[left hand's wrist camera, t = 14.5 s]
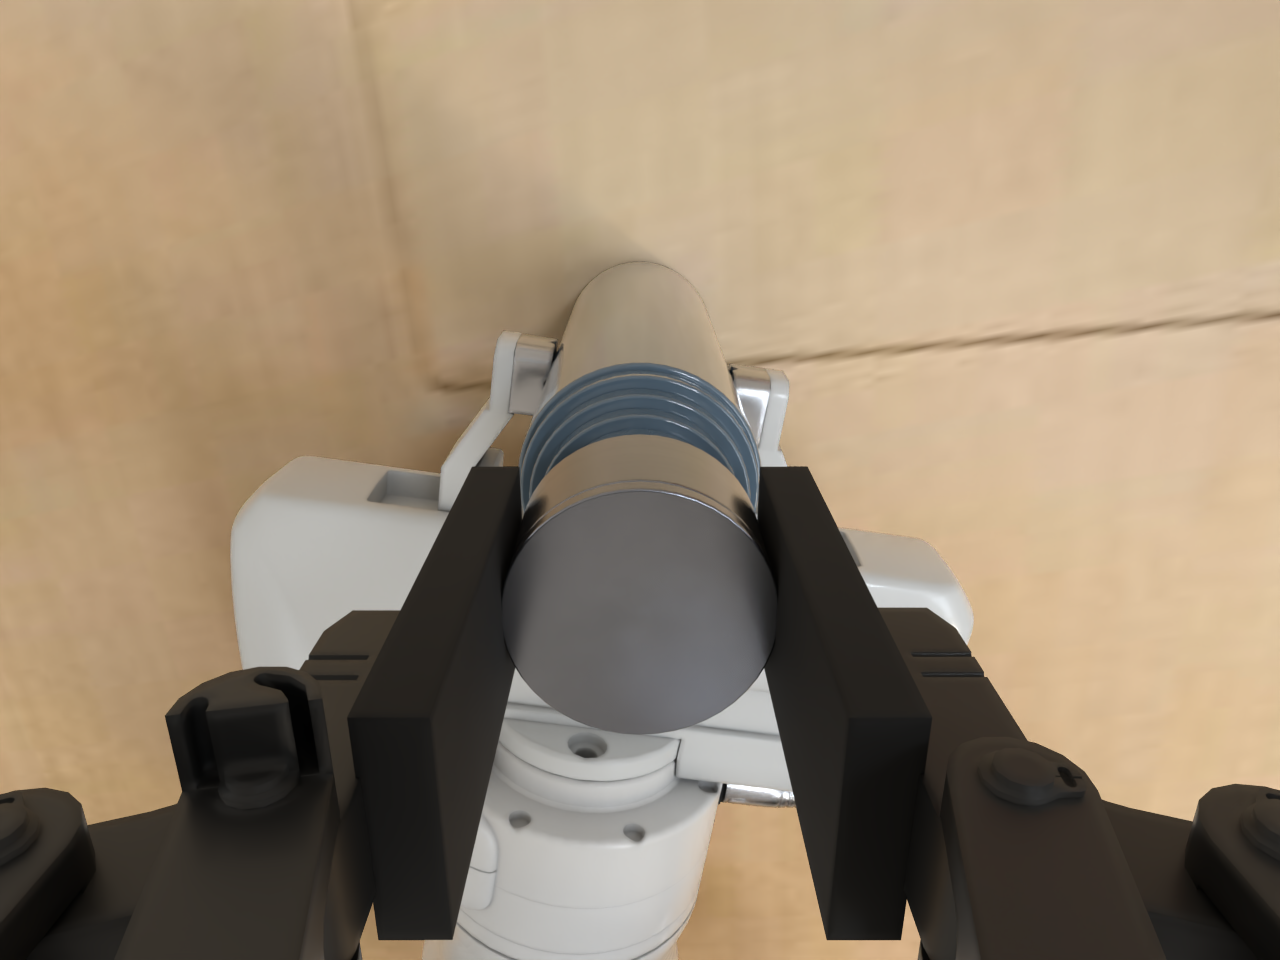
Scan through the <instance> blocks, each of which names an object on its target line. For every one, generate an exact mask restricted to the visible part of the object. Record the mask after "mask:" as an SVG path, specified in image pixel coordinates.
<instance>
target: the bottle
mask: <svg viewBox="0 0 1280 960" xmlns="http://www.w3.org/2000/svg"><path fill="white" fill-rule="evenodd" d="M638 434H642V435H657V436H662V437H667V438H673V439H676V440H679V441H682V442H685V443H688V444H690V445H692V446H694V447H696V448H699V449H701V450H703V451H704V452H706V453H707V454H709V455H711V456H712V457H714V458H715V459H717V460H718V461H719V462H720V463H721V464H722V465H724V466H725V467H726V468H727V469H728V470H729V471H730V472H731V473H732V474H733V475H734V476H735V478H736V479H737V480H738V481H739V483H740V484H741V486H742V487H743V489H744V490H745V492H746V493H747V495H748V497H749V499H750V501H751V503H752V505H753V508H754V511H755V514H756V509H757V506H758V494H759V475H760V467H761V460H760V455H759V451H758V446H757V443H756V441H755V438H754V435H753V433H752V430H751V427H750V425H749V422H748V419H747V417H746V414H745V411H744V409H743V406H742V403H741V401H740V398H739V395H738V393H737V390H736V387H735V385H734V382H733V379H732V377H731V374H730V371H729V369H728V366H727V363H726V361H725V358H724V355H723V353H722V350H721V347H720V345H719V342H718V339H717V337H716V334H715V331H714V329H713V326H712V324H711V321H710V318H709V316H708V313H707V310H706V308H705V305H704V302H703V301H702V299H701V297H700V295H699V294H698V292H697V291H696V289H695V288H694V287H693V286H692V285H691V284H690V283H689V282H688V280H686V279H685V278H684V277H683V276H681V275H680V274H678V273H677V272H675V271H673V270H672V269H669V268H667V267H665V266H662V265H659V264H655V263H649V262H630V263H624V264H620V265H617V266H614V267H612V268H609V269H607V270H606V271H604V272H602V273H600V274H599V275H598V276H596V277H595V278H594V279H593V280H592V281H591V282H590V283H589V284H588V285H587V286H586V287H585V288H584V289H583V291H582V292H581V293H580V295H579V297H578V299H577V301H576V302H575V305H574V308H573V310H572V313H571V315H570V318H569V321H568V323H567V326H566V329H565V332H564V334H563V337H562V340H561V342H560V345H559V348H558V350H557V353H556V356H555V358H554V361H553V364H552V366H551V369H550V372H549V374H548V377H547V380H546V383H545V385H544V388H543V391H542V393H541V396H540V399H539V401H538V404H537V407H536V409H535V412H534V415H533V417H532V420H531V423H530V426H529V428H528V431H527V434H526V436H525V439H524V442H523V444H522V449H521V453H520V457H519V465H518V467H520V487H521V504H522V507H523V512H524V513H525V509H526V506H527V504H528V502H529V500H530V498H531V496H532V494H533V492H534V491H535V489H536V488H537V486H538V485H539V483H540V482H541V480H542V479H543V478H544V477H545V476H546V475H547V474H548V473H549V471H550V470H551V469H552V468H553V467H555V466H556V465H557V464H558V463H559V462H561V461H562V460H563V459H564V458H566V457H567V456H569V455H571V454H572V453H574V452H575V451H577V450H579V449H581V448H583V447H585V446H587V445H589V444H592V443H595V442H598V441H601V440H604V439H607V438H612V437H617V436H623V435H638Z"/></svg>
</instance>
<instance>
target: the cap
mask: <svg viewBox="0 0 1280 960" xmlns="http://www.w3.org/2000/svg"><path fill="white" fill-rule="evenodd" d="M501 605H502V622H503V636H504V643H505V646H506V650H507V652H508V654H509V656H510V658H511V661H512V663H513V665H514V666H515V668H516V669H517V671H518V673H519V674H520V676H521V677H522V679H523V680H524V681H525V682H526V684H527V685H528V686H529V687H530V688H531V690H532V691H533V692H534V693H535V694H537V695H538V696H539V697H540V698H541V699H542V700H543V701H544V702H545V703H547V704H548V705H550V706H551V707H552V708H554V709H555V710H557V711H558V712H560V713H561V714H563V715H565V716H567V717H569V718H571V719H572V720H575V721H577V722H579V723H582V724H584V725H587V726H590V727H593V728H597V729H600V730H604V731H609V732H615V733H621V734H635V735H644V734H659V733H665V732H671V731H676V730H679V729H683V728H687V727H690V726H693V725H695V724H698V723H700V722H703V721H705V720H707V719H709V718H711V717H713V716H715V715H716V714H718V713H720V712H722V711H723V710H724V709H726V708H727V707H729V706H730V705H732V704H733V703H734V702H736V701H737V700H738V699H739V698H740V697H741V696H742V695H743V694H744V693H745V692H746V691H747V690H748V689H749V688H750V687H751V686H752V684H753V683H754V682H755V681H756V680H757V678H758V677H759V675H760V674H761V672H762V671H763V669H764V668H765V666H766V664H767V662H768V660H769V658H770V656H771V653H772V651H773V649H774V646H775V640H776V626H777V610H778V586H777V583H776V580H775V576H774V573H773V570H772V566H771V563H770V560H769V557H768V553H767V550H766V547H765V544H764V540H763V537H762V534H761V531H760V527H759V524H758V521H757V518H756V514H755V511H754V508H753V505H752V503H751V501H750V499H749V497H748V495H747V493H746V492H745V490H744V489H743V487H742V486H741V484H740V483H739V481H738V480H737V479H736V478H735V476H734V475H733V474H732V473H731V472H730V471H729V470H728V469H727V468H726V467H725V466H724V465H722V464H721V463H720V462H719V461H718V460H717V459H715V458H714V457H712V456H711V455H709V454H707V453H706V452H704V451H703V450H701V449H699V448H696V447H694V446H692V445H690V444H688V443H685V442H682V441H679V440H676V439H673V438H667V437H662V436H657V435H642V434H638V435H623V436H617V437H612V438H607V439H604V440H601V441H598V442H595V443H592V444H589V445H587V446H585V447H583V448H581V449H579V450H577V451H575V452H574V453H572V454H571V455H569V456H567V457H566V458H564V459H563V460H562V461H561V462H559V463H558V464H557V465H556V466H555V467H553V468H552V469H551V470H550V471H549V473H548V474H547V475H546V476H545V477H544V478H543V479H542V480H541V482H540V483H539V485H538V486H537V488H536V489H535V491H534V492H533V494H532V496H531V498H530V500H529V502H528V504H527V506H526V509H525V513H524V516H523V519H522V522H521V525H520V529H519V532H518V535H517V539H516V542H515V545H514V549H513V552H512V556H511V559H510V562H509V566H508V569H507V572H506V576H505V579H504V582H503V586H502V592H501Z"/></svg>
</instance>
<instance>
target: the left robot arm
mask: <svg viewBox="0 0 1280 960" xmlns="http://www.w3.org/2000/svg"><path fill="white" fill-rule="evenodd" d="M757 521H758V524H759V527H760V531H761V534H762V537H763V540H764V544H765V547H766V550H767V553H768V557H769V560H770V563H771V566H772V570H773V573H774V576H775V580H776V583H777V586H778V610H777V626H776V640H775V646H774V649H773V651H772V653H771V656H770V658H769V660H768V662H767V664H766V666H765V668H764V670H765V674H766V678H767V683H768V687H769V691H770V696H771V700H772V704H773V709H774V713H775V717H776V722H777V726H778V730H779V735H780V739H781V743H782V748H783V752H784V756H785V761H786V765H787V769H788V774H789V778H790V782H791V787H792V791H793V795H794V800H795V804H796V808H797V813H798V817H799V821H800V826H801V830H802V834H803V839H804V843H805V847H806V852H807V856H808V860H809V865H810V869H811V873H812V878H813V882H814V886H815V891H816V895H817V899H818V904H819V908H820V912H821V917H822V921H823V925H824V930H825V934H826V938H827V940H901V935H902V928H903V921H904V914H905V907H906V900H907V901H908V903H909V906H910V909H911V912H912V915H913V918H914V921H915V924H916V926H917V929H918V932H919V935H920V938H921V941H920V948H919V954H918V960H1280V790H1276V789H1272V788H1268V787H1263V786H1253V785H1242V784H1232V785H1227V786H1222V787H1217V788H1212V789H1211V790H1210V791H1209V792H1208V793H1206V794H1205V795H1204V796H1203V797H1202V798H1201V799H1200V800H1199V802H1198V806H1197V809H1196V813H1195V816H1194V820H1193V822H1192V821H1188V820H1183V819H1178V818H1174V817H1169V816H1164V815H1160V814H1155V813H1151V812H1146V811H1141V810H1137V809H1132V808H1128V807H1125V806H1121V805H1118V804H1114V803H1111V802H1107V801H1104V800H1102V799H1101V797H1100V795H1099V792H1098V790H1097V789H1096V787H1095V786H1094V784H1093V783H1092V782H1091V780H1090V779H1089V777H1088V776H1087V774H1086V773H1085V772H1084V771H1083V770H1082V769H1080V768H1079V767H1078V766H1076V765H1075V764H1074V763H1073V762H1071V761H1070V760H1069V759H1067V758H1066V757H1065V756H1063V755H1061V754H1059V753H1057V752H1055V751H1052V750H1050V749H1048V748H1046V747H1044V746H1041V745H1039V744H1037V743H1033V742H1029V741H1027V739H1026V738H1025V736H1024V734H1023V733H1022V731H1021V730H1020V728H1019V726H1018V725H1017V723H1016V722H1015V720H1014V719H1013V717H1012V715H1011V714H1010V712H1009V711H1008V709H1007V708H1006V706H1005V704H1004V703H1003V701H1002V700H1001V698H1000V697H999V695H998V693H997V692H996V690H995V689H994V687H993V686H992V684H991V682H990V681H989V679H988V678H987V677H984V671H983V670H982V668H981V667H980V665H979V664H978V662H977V660H976V659H975V657H971V651H970V649H969V648H968V646H967V645H966V643H965V642H964V640H963V638H962V637H961V635H960V634H959V632H958V631H957V629H956V628H955V627H954V626H952V625H951V624H949V623H948V622H947V621H945V620H944V619H942V618H941V617H940V616H938V615H937V614H935V613H934V612H933V611H931V610H930V609H928V608H878V607H877V605H876V603H875V601H874V599H873V597H872V595H871V593H870V591H869V589H868V587H867V585H866V583H865V581H864V579H863V577H862V575H861V573H860V571H859V569H858V567H857V565H856V563H855V561H854V559H853V557H852V555H851V553H850V551H849V549H848V547H847V545H846V543H845V541H844V539H843V537H842V535H841V533H840V531H839V529H838V527H837V525H836V523H835V521H834V519H833V517H832V515H831V513H830V511H829V509H828V507H827V505H826V503H825V501H824V499H823V497H822V495H821V493H820V491H819V489H818V487H817V485H816V483H815V481H814V479H813V477H812V475H811V473H810V471H809V469H808V467H760V475H759V494H758V513H757ZM521 522H522V506H521V487H520V467H472V468H471V470H470V472H469V474H468V476H467V478H466V480H465V482H464V484H463V486H462V488H461V490H460V492H459V494H458V496H457V498H456V500H455V502H454V504H453V506H452V508H451V510H450V512H449V514H448V516H447V518H446V520H445V522H444V524H443V526H442V528H441V530H440V532H439V534H438V536H437V538H436V540H435V542H434V544H433V546H432V548H431V550H430V552H429V554H428V556H427V558H426V560H425V562H424V564H423V566H422V568H421V570H420V572H419V574H418V576H417V578H416V580H415V582H414V584H413V586H412V588H411V590H410V592H409V594H408V596H407V598H406V600H405V602H404V604H403V606H402V608H401V610H353V611H351V612H350V613H348V614H347V615H346V616H344V617H343V618H341V619H340V620H339V621H337V622H336V623H334V624H333V625H332V626H330V627H329V628H327V629H326V630H325V631H324V632H323V633H322V635H321V636H320V638H319V639H318V641H317V643H316V644H315V646H314V647H313V649H312V651H311V652H310V654H309V659H308V660H305V662H304V663H303V665H302V666H301V668H300V670H297V669H293V668H289V667H255V668H250V669H245V670H239V671H234V672H230V673H227V674H225V675H222V676H220V677H217V678H214V679H212V680H209V681H207V682H204V683H202V684H200V685H199V686H197V687H196V688H194V689H193V690H191V691H190V692H188V693H187V694H185V695H184V696H182V697H181V698H179V699H178V700H177V702H176V703H175V704H174V705H173V707H172V708H171V709H170V710H169V711H168V713H167V714H166V715H165V718H166V723H167V727H168V731H169V736H170V740H171V744H172V749H173V753H174V757H175V762H176V766H177V770H178V775H179V779H180V783H181V788H182V794H181V796H180V799H179V801H178V803H177V804H175V805H172V806H168V807H165V808H161V809H158V810H154V811H151V812H147V813H142V814H137V815H133V816H128V817H124V818H119V819H114V820H110V821H105V822H101V823H96V824H91V825H87V822H86V819H85V815H84V812H83V808H82V805H81V803H80V802H78V801H77V800H76V799H75V798H74V797H73V796H72V795H71V794H70V793H68V792H64V791H59V790H54V789H49V788H38V789H27V790H17V791H12V792H9V793H5V794H0V960H362V954H361V948H360V938H361V935H362V932H363V929H364V926H365V923H366V921H367V918H368V915H369V912H370V909H371V906H372V903H373V904H374V911H375V919H376V926H377V933H378V940H453V936H454V932H455V927H456V923H457V919H458V914H459V910H460V906H461V901H462V897H463V893H464V888H465V884H466V880H467V875H468V871H469V867H470V862H471V858H472V854H473V849H474V845H475V841H476V836H477V832H478V828H479V823H480V819H481V815H482V810H483V806H484V802H485V797H486V793H487V789H488V784H489V780H490V776H491V771H492V767H493V763H494V758H495V754H496V750H497V745H498V741H499V737H500V732H501V728H502V724H503V719H504V715H505V711H506V706H507V702H508V698H509V693H510V689H511V685H512V680H513V676H514V672H515V666H514V665H513V663H512V661H511V658H510V656H509V654H508V652H507V650H506V646H505V643H504V636H503V622H502V605H501V592H502V586H503V582H504V579H505V576H506V572H507V569H508V566H509V562H510V559H511V556H512V552H513V549H514V545H515V542H516V539H517V535H518V532H519V529H520V525H521Z"/></svg>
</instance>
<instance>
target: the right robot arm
mask: <svg viewBox="0 0 1280 960" xmlns="http://www.w3.org/2000/svg"><path fill="white" fill-rule="evenodd" d="M557 345H558V339H555V338H549V337H543V336H536V335H530V334H524V333H521V332H511V331H503V332H502V333H501V335H500V336H499V338H498V340H497V344H496V349H495V354H494V361H493V372H492V383H491V394H490V398H489V399H488V400H487V402H486V403H485V404H484V406H483V407H482V408H481V410H480V411H479V412H478V414H477V415H476V416H475V418H474V419H473V420H472V422H471V423H470V424H469V426H468V427H467V428H466V430H465V431H464V432H463V434H462V435H461V436H460V438H459V439H458V440H457V442H456V443H455V445H454V447H453V448H452V450H451V452H450V453H449V455H448V457H447V458H446V460H445V462H444V463H443V465H442V467H441V473H434V472H427V471H419V470H412V469H405V468H397V467H390V466H383V465H376V464H368V463H361V462H354V461H346V460H339V459H332V458H325V457H318V456H300V457H297V458H295V459H293V460H291V461H290V462H289V463H287V464H286V465H285V466H284V467H282V468H281V469H280V470H278V471H277V472H276V473H275V474H273V475H272V476H271V477H270V478H268V479H267V480H266V481H265V482H264V483H263V484H261V485H260V486H259V487H258V488H257V490H256V491H255V492H254V493H253V494H252V495H251V496H250V497H249V498H248V499H247V500H246V502H245V503H244V504H243V506H242V507H241V508H240V510H239V512H238V514H237V516H236V518H235V520H234V523H233V526H232V531H231V544H230V563H231V583H232V597H233V607H234V617H235V625H236V632H237V640H238V646H239V652H240V658H241V664H242V670H245V669H250V668H255V667H289V668H293V669H297V670H300V668H301V666H302V665H303V663H304V662H305V660H308V659H309V654H310V652H311V651H312V649H313V647H314V646H315V644H316V643H317V641H318V639H319V638H320V636H321V635H322V633H323V632H324V631H325V630H326V629H327V628H329V627H330V626H332V625H333V624H334V623H336V622H337V621H339V620H340V619H341V618H343V617H344V616H346V615H347V614H348V613H350V612H351V611H353V610H401V608H402V606H403V604H404V602H405V600H406V598H407V596H408V594H409V592H410V590H411V588H412V586H413V584H414V582H415V580H416V578H417V576H418V574H419V572H420V570H421V568H422V566H423V564H424V562H425V560H426V558H427V556H428V554H429V552H430V550H431V548H432V546H433V544H434V542H435V540H436V538H437V536H438V534H439V532H440V530H441V528H442V526H443V524H444V522H445V520H446V518H447V516H448V514H449V512H450V510H451V508H452V506H453V504H454V502H455V500H456V498H457V496H458V494H459V492H460V490H461V488H462V486H463V484H464V482H465V480H466V478H467V476H468V474H469V472H470V470H471V468H472V467H503V459H504V452H503V451H502V450H501V449H497V448H491V447H490V446H491V444H492V443H493V442H494V440H495V439H496V438H497V436H498V435H499V434H500V432H501V431H502V430H503V428H504V427H505V426H506V424H507V423H508V422H509V420H510V419H511V418H512V416H513V415H514V413H515V414H524V415H532V416H533V415H534V412H535V409H536V407H537V404H538V401H539V399H540V396H541V393H542V391H543V388H544V385H545V383H546V380H547V377H548V374H549V372H550V369H551V366H552V364H553V361H554V358H555V356H556V353H557ZM728 369H729V371H730V374H731V377H732V379H733V382H734V385H735V387H736V390H737V393H738V395H739V398H740V401H741V403H742V406H743V409H744V411H745V414H746V417H747V419H748V422H749V425H750V427H751V430H752V433H753V435H754V438H755V441H756V443H757V446H758V451H759V455H760V460H761V467H787V464H786V461H785V458H784V456H783V453H782V450H781V448H780V446H779V441H780V436H781V431H782V426H783V422H784V417H785V412H786V408H787V403H788V398H789V380H788V378H787V377H786V375H785V374H784V372H783V371H781V370H774V369H766V368H760V367H752V366H745V365H737V364H730V365H729V367H728ZM521 506H522V504H521ZM757 513H758V506H757V509H756V518H757ZM523 516H524V512H523V507H522V519H523ZM838 529H839V531H840V533H841V535H842V537H843V539H844V541H845V543H846V545H847V547H848V549H849V551H850V553H851V555H852V557H853V559H854V561H855V563H856V565H857V567H858V569H859V571H860V573H861V575H862V577H863V579H864V581H865V583H866V585H867V587H868V589H869V591H870V593H871V595H872V597H873V599H874V601H875V603H876V605H877V607H878V608H928V609H930V610H931V611H933V612H934V613H935V614H937V615H938V616H940V617H941V618H942V619H944V620H945V621H947V622H948V623H949V624H951V625H952V626H954V627H955V628H956V629H957V631H958V632H959V634H960V635H961V637H962V638H963V640H964V642H965V643H966V645H968V642H969V639H970V636H971V633H972V629H973V624H974V616H973V611H972V607H971V604H970V602H969V599H968V597H967V595H966V593H965V591H964V589H963V588H962V586H961V584H960V582H959V581H958V579H957V577H956V576H955V574H954V573H953V571H952V570H951V569H950V567H949V566H948V565H947V563H946V562H945V561H944V560H943V558H942V557H941V556H940V555H939V553H938V552H937V551H936V550H935V548H934V547H933V546H932V545H930V544H929V543H928V542H926V541H924V540H922V539H918V538H913V537H906V536H899V535H891V534H884V533H877V532H869V531H862V530H855V529H847V528H840V527H838ZM720 802H725V803H727V802H728V803H734V804H742V805H751V806H759V807H773V808H776V807H778V808H781V807H795V808H796V804H795V800H794V795H793V791H792V787H791V782H790V778H789V774H788V769H787V765H786V761H785V756H784V752H783V748H782V743H781V739H780V735H779V730H778V726H777V722H776V717H775V713H774V709H773V704H772V700H771V696H770V691H769V687H768V683H767V678H766V674H765V670H764V669H763V671H762V672H761V674H760V675H759V677H758V678H757V680H756V681H755V682H754V683H753V684H752V686H751V687H750V688H749V689H748V690H747V691H746V692H745V693H744V694H743V695H742V696H741V697H740V698H739V699H738V700H737V701H736V702H734V703H733V704H732V705H730V706H729V707H727V708H726V709H724V710H723V711H722V712H720V713H718V714H716V715H715V716H713V717H711V718H709V719H707V720H705V721H703V722H700V723H698V724H695V725H693V726H690V727H687V728H683V729H679V730H676V731H671V732H665V733H659V734H644V735H635V734H621V733H615V732H609V731H604V730H600V729H597V728H593V727H590V726H587V725H584V724H582V723H579V722H577V721H575V720H572V719H571V718H569V717H567V716H565V715H563V714H561V713H560V712H558V711H557V710H555V709H554V708H552V707H551V706H550V705H548V704H547V703H545V702H544V701H543V700H542V699H541V698H540V697H539V696H538V695H537V694H535V693H534V692H533V691H532V690H531V688H530V687H529V686H528V685H527V684H526V682H525V681H524V680H523V679H522V677H521V676H520V674H519V673H518V671H517V669H516V668H515V672H514V676H513V680H512V685H511V689H510V693H509V698H508V702H507V706H506V711H505V715H504V719H503V724H502V728H501V732H500V737H499V741H498V745H497V750H496V754H495V758H494V763H493V767H492V771H491V776H490V780H489V784H488V789H487V793H486V797H485V802H484V806H483V810H482V815H481V819H480V823H479V828H478V832H477V836H476V841H475V845H474V849H473V854H472V858H471V862H470V867H469V871H468V875H467V880H466V884H465V888H464V893H463V897H462V901H461V906H460V910H459V914H458V919H457V923H456V927H455V932H454V936H453V940H424V946H423V952H422V960H679V959H678V948H677V940H678V938H679V936H680V935H681V933H682V931H683V930H684V928H685V926H686V925H687V923H688V921H689V919H690V916H691V914H692V911H693V909H694V906H695V904H696V900H697V895H698V891H699V886H700V882H701V878H702V873H703V869H704V864H705V860H706V855H707V851H708V846H709V842H710V837H711V833H712V829H713V825H714V820H715V815H716V811H717V806H718V804H720Z"/></svg>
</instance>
